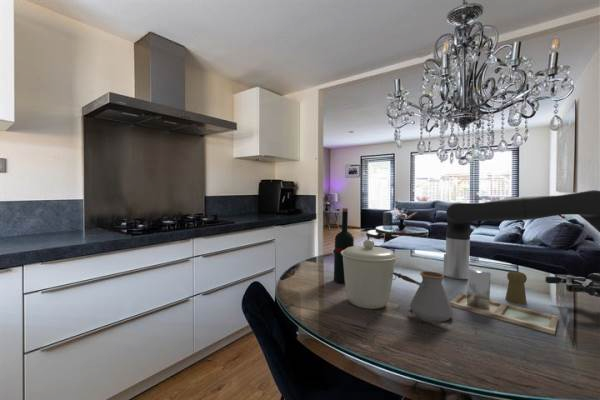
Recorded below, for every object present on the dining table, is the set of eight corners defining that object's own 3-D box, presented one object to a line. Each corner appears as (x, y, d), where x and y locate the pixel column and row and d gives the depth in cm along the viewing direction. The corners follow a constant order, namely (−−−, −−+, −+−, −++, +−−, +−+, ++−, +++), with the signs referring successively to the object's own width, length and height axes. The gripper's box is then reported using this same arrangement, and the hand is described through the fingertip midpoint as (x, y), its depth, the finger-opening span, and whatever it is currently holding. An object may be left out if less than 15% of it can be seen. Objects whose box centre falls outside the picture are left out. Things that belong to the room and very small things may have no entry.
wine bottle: (344, 287, 107) (346, 209, 106) (329, 279, 116) (331, 207, 116) (360, 284, 111) (362, 209, 110) (345, 277, 120) (347, 207, 119)
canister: (373, 290, 104) (375, 234, 103) (408, 310, 87) (410, 243, 86) (330, 296, 97) (331, 236, 97) (359, 318, 80) (361, 245, 80)
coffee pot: (427, 307, 90) (429, 261, 89) (462, 322, 79) (463, 270, 79) (375, 318, 81) (377, 267, 80) (406, 337, 70) (408, 278, 70)
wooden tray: (449, 308, 89) (449, 301, 89) (461, 299, 97) (461, 292, 97) (554, 339, 71) (554, 330, 71) (557, 324, 80) (558, 316, 80)
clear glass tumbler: (464, 305, 89) (465, 271, 88) (469, 300, 93) (471, 268, 92) (486, 311, 84) (487, 275, 84) (491, 306, 88) (492, 272, 88)
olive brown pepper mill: (531, 309, 90) (532, 275, 90) (510, 307, 91) (511, 273, 91) (520, 302, 96) (522, 270, 96) (500, 300, 97) (502, 269, 97)
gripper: (590, 268, 97) (540, 266, 99) (635, 280, 83) (575, 278, 85) (589, 289, 98) (539, 287, 99) (634, 305, 83) (575, 303, 85)
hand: (556, 283), depth 92 cm, fingers open, 8 cm apart
